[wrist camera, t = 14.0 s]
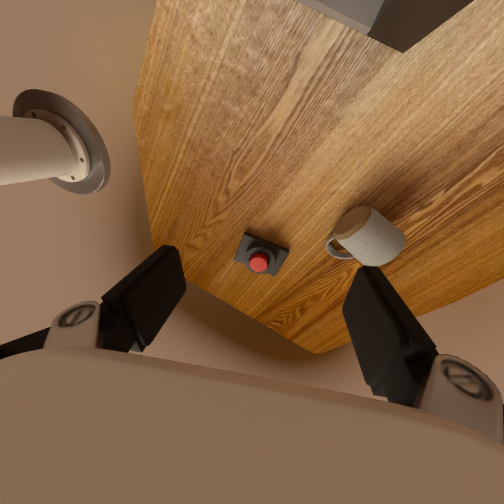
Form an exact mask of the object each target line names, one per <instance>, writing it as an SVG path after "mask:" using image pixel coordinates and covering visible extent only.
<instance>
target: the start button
mask: <svg viewBox="0 0 504 504" xmlns="http://www.w3.org/2000/svg"><path fill="white" fill-rule="evenodd" d="M267 265H268V258H267V256H266V255H264V254H262V253H255V254H254V255H252V257H251V260H250V267H251V269H252V270H254V271H256V272H263V271H265V270H266V268H267Z"/></svg>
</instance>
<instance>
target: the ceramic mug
mask: <svg viewBox="0 0 504 504" xmlns="http://www.w3.org/2000/svg"><path fill="white" fill-rule="evenodd" d="M335 238H336V240H337V241H338V242H339V243H340V244H341V245H342V246H343V247H344V248H346V249H347V250H348V251H349V253H341V252H338V251H336V250H335V249H334V248H333V247H332V246H331V244H329V242H330V241H331V240H333V239H335ZM405 243H406V237H405V235H404V234H403V233H402V232H401V231H400V230H399V229H398V228H396V227H395V226H394V225H393V224H392V223H391V222H390V221H388V220H387V219H386V218H385V217H383V216H382V215H381V214H380V213H379V212H378V211H377V210H375V209H373V208H372V207H370V206H366V205H363V206H358V207H356V208H353V209H352V210H350V211H349V212H347V213H346V214H345V215H344V216H343V217H342V218H341V219H340V220H339V221H338V223H337V224H336V226H335V229H334V233H333V234H332V235H330V236H329V237H328V239H327V241H326V249H327V251H328V252H329V253H330V254H331V255H332V256H334V257H336V258H340V259H351V258H356V259H357V260H358V261H359V262H361V263H362V264H363V265H367V266H379V265H383V264H385V263H387V262H389V261H391V260H392V259H394V258H395V257H396V256H397V255H398V254H399V253H400V252H401V251H402V250H403V248H404V246H405Z"/></svg>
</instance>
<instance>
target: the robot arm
mask: <svg viewBox="0 0 504 504" xmlns="http://www.w3.org/2000/svg"><path fill="white" fill-rule="evenodd" d="M89 171H90V159H89V155H88V151H87V149H86V146H85V144H84V143H83V141H82V139H81V138H80V136H79V135H78V133H77V132H76V131H75V130H74V128H73V127H72V126H71V125H70V124H69V123H68V122H67V121H66V120H64V119H63V118H62V117H60V116H59V115H57V114H55V113H53V112H51V111H48V110H43V109H32V110H30V111H28V112H27V113H26V114H25V115H24V118H20V117H8V116H0V185H5V184H12V183H18V182H25V181H31V180H37V179H44V178H50V177H57V178H59V179H61V180H64V181H67V182H77V181H81V180H83V179H85V178H86V177H87V176H88V174H89ZM185 291H186V282H185V277H184V273H183V268H182V264H181V259H180V255H179V251H178V249H176V248H175V246H169V245H162V246H161V247H160V248H159V249H157V250H156V251H155V252H154V253H153V254H152V255H150V256H149V257H148V258H147V259H146V260H144V261H143V262H142V263H141V264H140V265H138V266H137V267H136V268H135V269H134V270H133V271H131V272H130V273H129V274H128V275H127V276H126V277H124V278H123V279H122V280H121V281H120V282H118V283H117V284H116V285H115V286H114V287H112V288H111V289H110V290H109V291H108V292H107V293H106V294H104V295H103V296H102V297H101V298H102V300H103V302H102V303H101V304H99V303H98V302H95V301H85V302H81V303H78V304H75V305H73V306H71V307H69V308H67V309H65V310H64V311H63V312H61V313H60V314H59V315H58V316H57V317H56V318H55V319H54V321H53V323H52V325H51V327H49V328H46V329H43V330H41V331H38V332H35V333H32V334H29V335H27V336H24V337H21V338H19V339H16V340H13V341H10V342H8V343H5V344H2V345H0V504H504V404H503V400H502V396H501V393H500V391H499V390H498V388H497V387H496V385H495V384H494V383H493V382H492V381H491V380H490V378H489V377H488V376H487V375H485V374H484V373H483V372H482V371H481V370H479V369H478V368H476V367H475V366H473V365H472V364H470V363H469V362H467V361H465V360H463V359H461V358H459V357H456V356H453V355H449V354H439V353H438V352H437V350H436V349H435V348H436V345H435V344H434V342H433V341H432V340H431V338H430V337H429V336H428V334H427V333H426V332H425V330H424V329H423V327H422V326H421V325H420V323H419V322H418V321H417V319H416V318H415V316H414V315H413V314H412V312H411V311H410V310H409V308H408V307H407V305H406V304H405V303H404V301H403V300H402V299H401V297H400V296H399V294H398V293H397V292H396V290H395V289H394V288H393V286H392V285H391V284H390V282H389V281H388V279H387V278H386V277H385V275H384V274H383V273H382V271H381V270H380V268H379V267H377V266H367V265H364V266H362V268H358V270H357V272H356V275H355V277H354V280H353V282H352V285H351V287H350V289H349V292H348V294H347V297H346V299H345V302H344V304H343V308H342V311H343V315H344V318H345V322H346V325H347V328H348V331H349V334H350V337H351V340H352V343H353V346H354V349H355V352H356V355H357V358H358V361H359V364H360V367H361V370H362V373H363V376H364V379H365V382H366V383H367V385H370V387H371V389H372V392H373V395H377V396H382V397H387V399H388V401H389V402H386V401H381V400H376V399H371V398H367V397H362V396H357V395H352V394H348V393H342V392H337V391H331V390H327V389H321V388H316V387H311V386H306V385H300V384H295V383H290V382H285V381H279V380H274V379H268V378H263V377H258V376H253V375H247V374H242V373H236V372H231V371H225V370H220V369H215V368H209V367H204V366H199V365H193V364H188V363H182V362H176V361H171V360H165V359H160V358H154V357H149V356H143V355H137V354H131V353H128V352H129V350H130V349H131V350H132V351H137V352H143V350H144V349H145V347H146V346H148V345H150V344H151V342H152V341H153V340H154V338H155V337H156V335H157V334H158V332H159V330H160V329H161V327H162V326H163V325H164V323H165V322H166V320H167V318H168V317H169V315H170V314H171V313H172V311H173V310H174V308H175V307H176V305H177V304H178V302H179V301H180V299H181V298H182V296H183V295H184V293H185Z"/></svg>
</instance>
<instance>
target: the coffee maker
mask: <svg viewBox="0 0 504 504" xmlns="http://www.w3.org/2000/svg"><path fill="white" fill-rule="evenodd" d="M296 1H298V2H300V3H302V4H304V5H306V6H308V7H310V8H312V9H314V10H316V11H318V12H320V13H322V14H324V15H326V16H328V17H330V18H332V19H334V20H336V21H338V22H340V23H342V24H344V25H346V26H348V27H350V28H352V29H355V30H357V31H359V32H361V33H363V34H365V35H367V36H369V37H371V38H373V39H375V40H377V41H379V42H381V43H383V44H385V45H387V46H389V47H391V48H393V49H395V50H398V51H400V52H402V53H404V52H405V51H407V50H408V49H409V48H411V47H412V46H413V45H415V44H416V43H417V42H419V41H420V40H422V39H423V38H424V37H426V36H427V35H428V34H430V33H431V32H432V31H434V30H435V29H436V28H438V27H439V26H440V25H442V24H443V23H444V22H446V21H447V20H448V19H450V18H451V17H452V16H454V15H455V14H456V13H458V12H459V11H460V10H462V9H463V8H464V7H466V6H467V5H468V4H470V3H471V2H472V1H474V0H296Z"/></svg>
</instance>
